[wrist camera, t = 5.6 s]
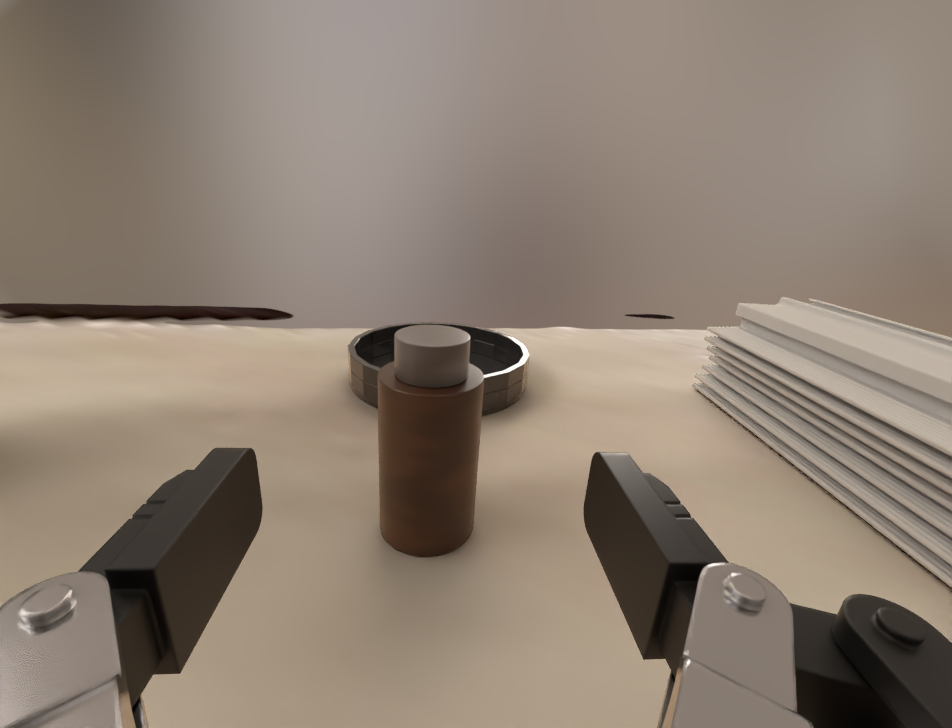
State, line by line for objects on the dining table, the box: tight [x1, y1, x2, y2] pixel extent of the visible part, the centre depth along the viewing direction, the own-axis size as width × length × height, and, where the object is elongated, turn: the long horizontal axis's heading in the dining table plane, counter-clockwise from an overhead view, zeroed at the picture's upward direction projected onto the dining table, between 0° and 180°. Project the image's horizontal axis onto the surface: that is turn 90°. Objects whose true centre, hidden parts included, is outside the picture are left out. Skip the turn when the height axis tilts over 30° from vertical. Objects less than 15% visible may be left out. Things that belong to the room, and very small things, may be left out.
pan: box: [348, 322, 529, 415], centre depth 44 cm, size 17×17×4 cm
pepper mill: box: [378, 325, 484, 556], centre depth 23 cm, size 5×5×11 cm
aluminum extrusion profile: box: [693, 297, 952, 588], centre depth 31 cm, size 14×31×10 cm, turn 3°
